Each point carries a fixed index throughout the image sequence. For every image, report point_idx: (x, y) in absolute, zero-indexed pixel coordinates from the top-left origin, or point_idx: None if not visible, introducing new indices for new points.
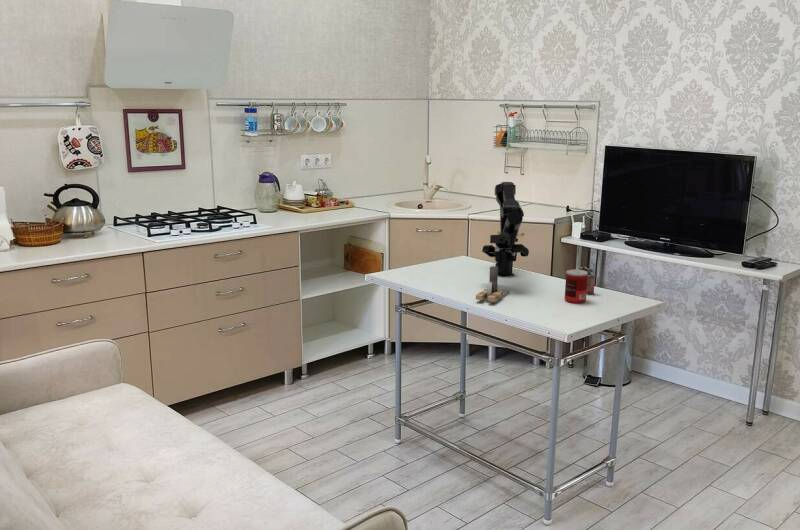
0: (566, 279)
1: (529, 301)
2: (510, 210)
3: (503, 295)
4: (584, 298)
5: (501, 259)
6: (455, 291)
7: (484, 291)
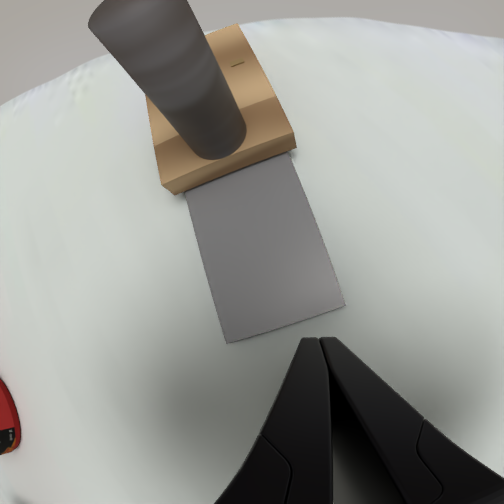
0: None
1: (70, 276)
2: None
3: (193, 222)
4: None
5: (325, 477)
6: (477, 119)
7: (250, 85)
